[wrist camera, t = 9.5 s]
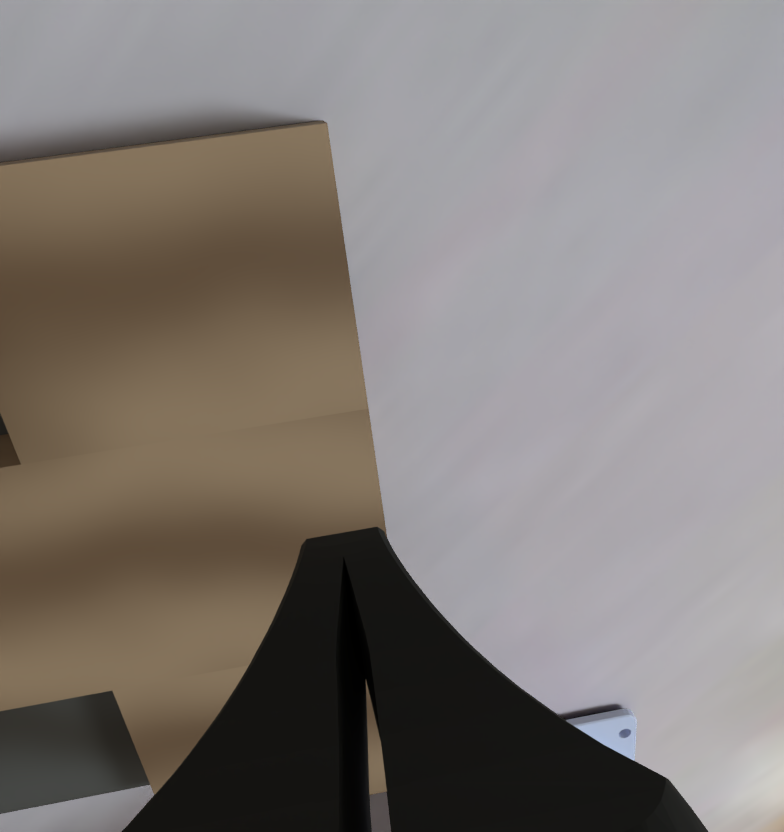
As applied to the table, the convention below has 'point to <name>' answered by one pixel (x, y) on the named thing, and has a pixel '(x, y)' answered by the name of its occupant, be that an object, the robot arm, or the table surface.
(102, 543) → the trap deck
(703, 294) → the table surface
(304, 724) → the robot arm
